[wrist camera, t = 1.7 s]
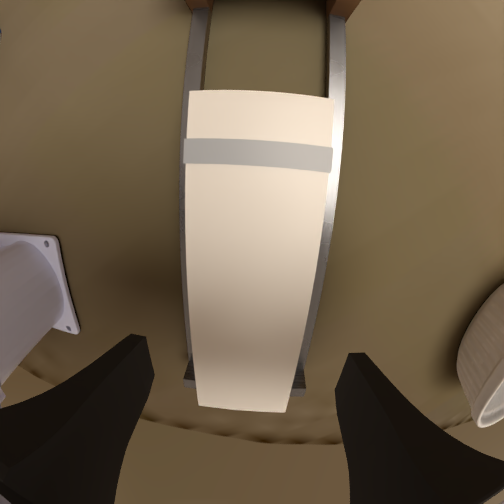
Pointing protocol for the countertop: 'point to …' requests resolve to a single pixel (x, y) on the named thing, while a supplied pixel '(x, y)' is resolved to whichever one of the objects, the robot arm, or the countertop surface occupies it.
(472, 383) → the ramekin
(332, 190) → the guide channel
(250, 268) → the banded cream case
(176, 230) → the countertop surface
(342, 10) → the socket block
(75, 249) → the countertop surface
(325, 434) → the countertop surface
